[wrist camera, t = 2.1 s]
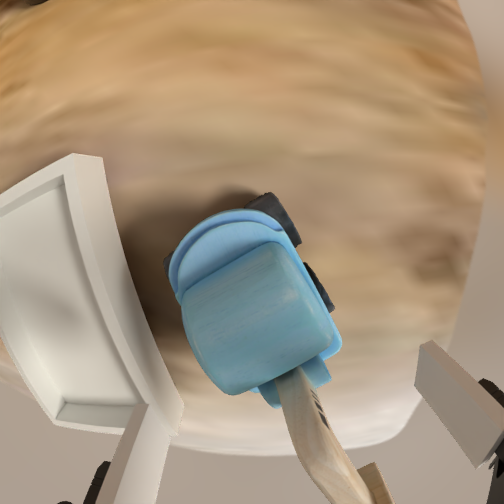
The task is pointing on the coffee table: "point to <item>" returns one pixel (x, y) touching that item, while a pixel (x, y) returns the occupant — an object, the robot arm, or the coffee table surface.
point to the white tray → (77, 303)
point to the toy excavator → (268, 332)
